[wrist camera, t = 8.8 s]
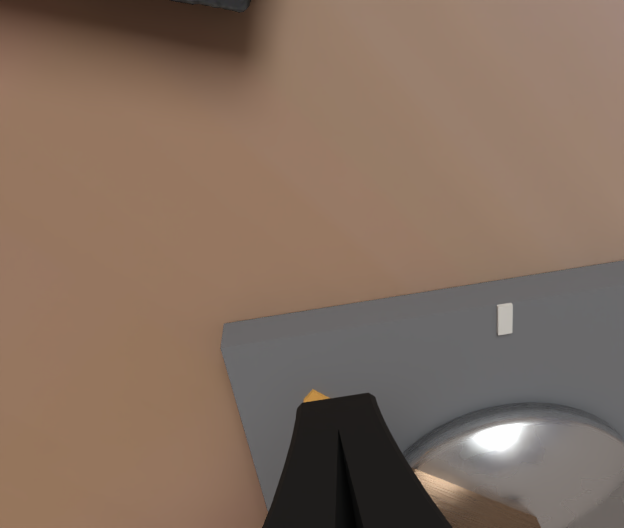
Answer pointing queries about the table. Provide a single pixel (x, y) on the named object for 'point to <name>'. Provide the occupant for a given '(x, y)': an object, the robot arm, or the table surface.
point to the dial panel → (433, 357)
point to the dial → (524, 468)
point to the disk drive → (221, 4)
